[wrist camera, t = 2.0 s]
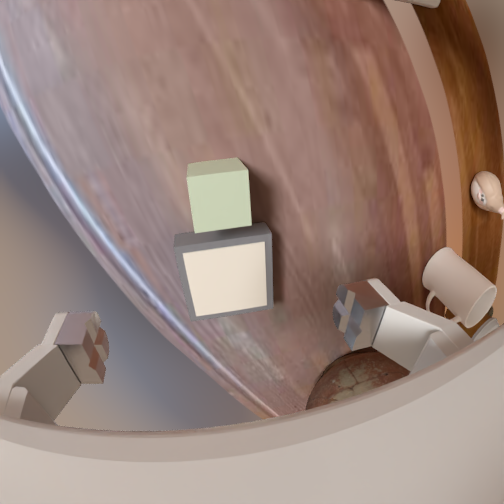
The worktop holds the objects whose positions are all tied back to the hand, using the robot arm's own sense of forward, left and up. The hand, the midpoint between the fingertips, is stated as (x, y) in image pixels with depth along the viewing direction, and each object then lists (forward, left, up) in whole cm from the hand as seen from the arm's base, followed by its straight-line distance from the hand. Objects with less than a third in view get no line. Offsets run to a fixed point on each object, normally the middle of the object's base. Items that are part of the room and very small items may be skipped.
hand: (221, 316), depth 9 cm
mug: (-36, +20, -22) cm, 47 cm away
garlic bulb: (-43, +4, -22) cm, 49 cm away
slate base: (-1, +12, -22) cm, 25 cm away
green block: (-1, +2, -22) cm, 22 cm away
